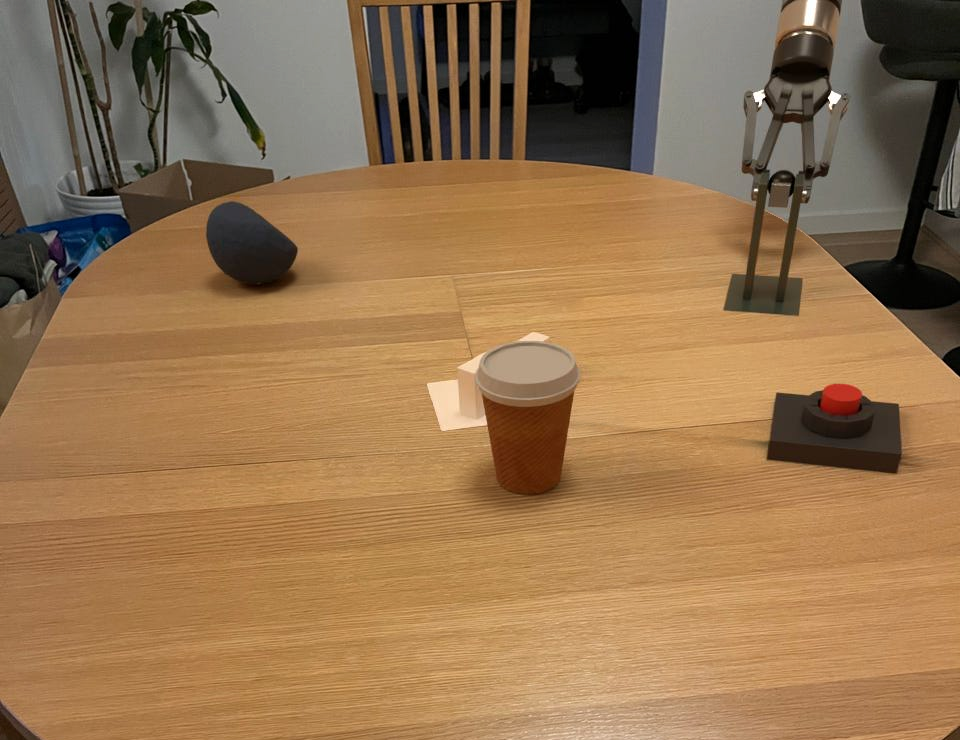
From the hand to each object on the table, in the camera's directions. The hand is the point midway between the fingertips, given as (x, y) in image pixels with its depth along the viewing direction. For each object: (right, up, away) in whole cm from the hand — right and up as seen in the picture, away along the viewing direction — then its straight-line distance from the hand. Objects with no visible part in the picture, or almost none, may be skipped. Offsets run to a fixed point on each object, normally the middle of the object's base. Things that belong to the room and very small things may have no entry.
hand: (775, 224), depth 124 cm
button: (-3, -31, -30) cm, 44 cm away
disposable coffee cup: (-33, -38, -31) cm, 59 cm away
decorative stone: (-69, -4, +10) cm, 70 cm away
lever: (-1, 0, -4) cm, 5 cm away
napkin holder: (-36, -27, -18) cm, 49 cm away
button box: (-3, -34, -28) cm, 44 cm away
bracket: (-2, -11, -3) cm, 12 cm away
